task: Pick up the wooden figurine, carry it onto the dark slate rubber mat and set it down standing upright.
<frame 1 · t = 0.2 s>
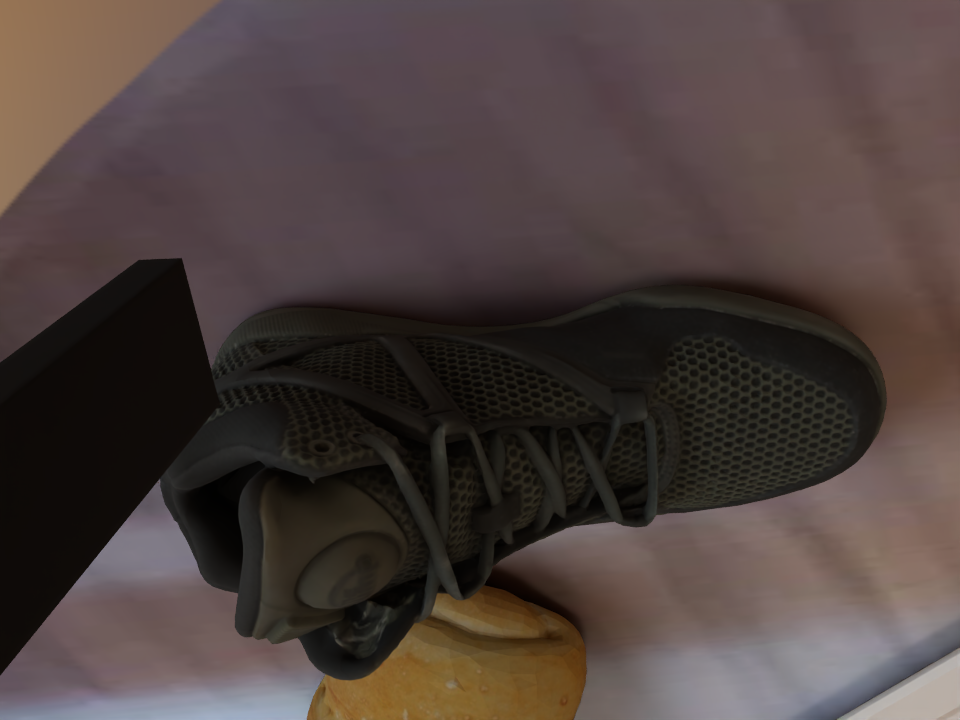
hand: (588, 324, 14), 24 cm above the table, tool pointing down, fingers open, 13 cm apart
sneaker: (529, 378, 42), on the table
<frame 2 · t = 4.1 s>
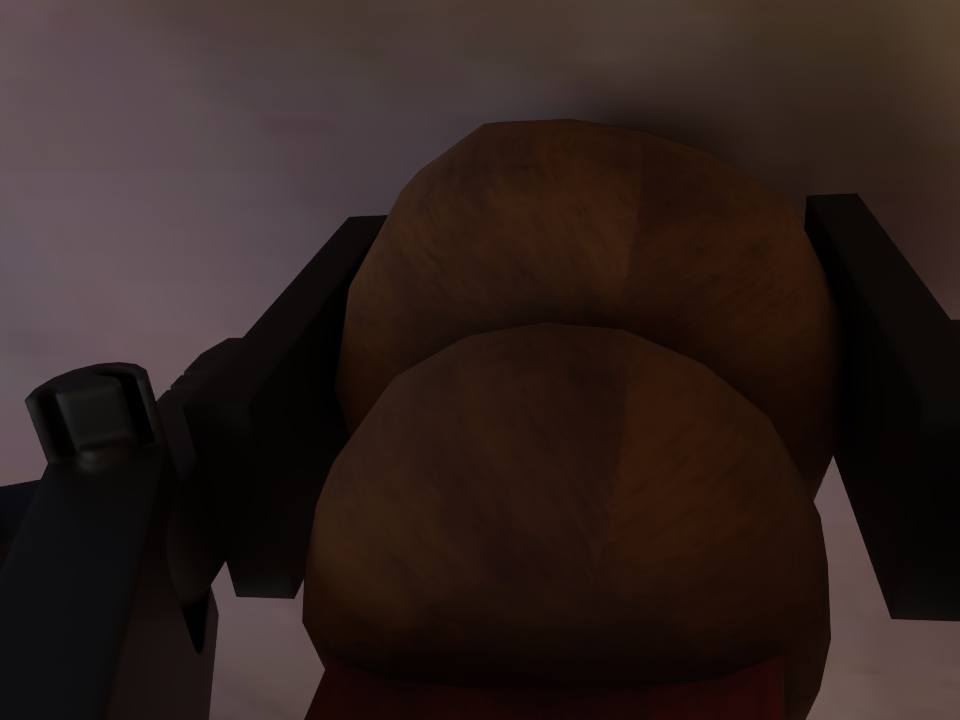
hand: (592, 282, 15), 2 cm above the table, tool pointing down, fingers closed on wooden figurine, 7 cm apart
wooden figurine: (597, 238, 17), on the table, touching gripper
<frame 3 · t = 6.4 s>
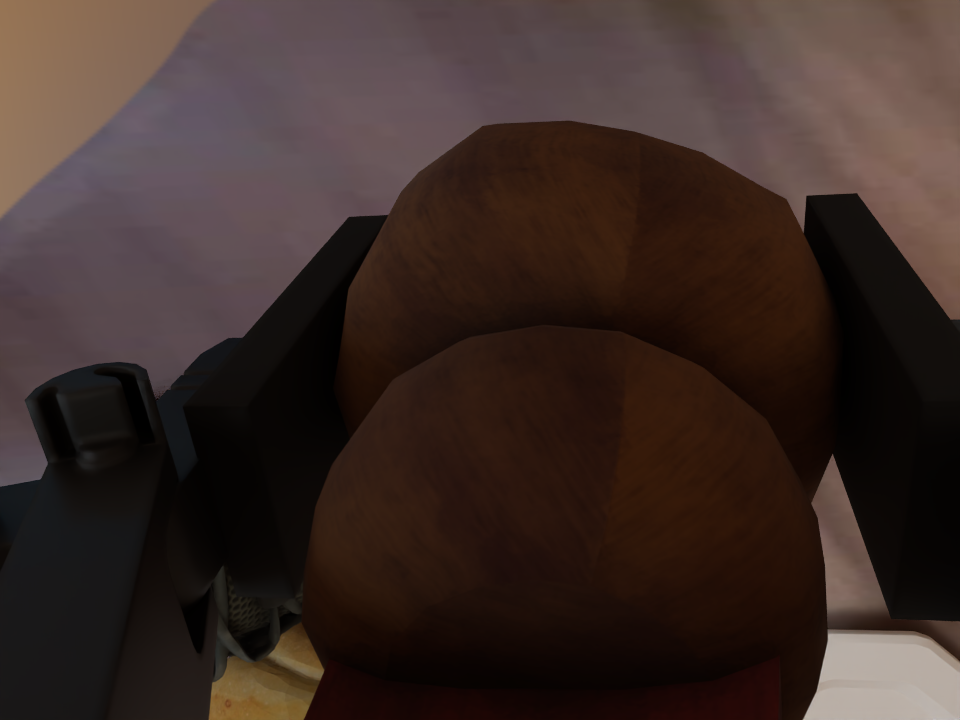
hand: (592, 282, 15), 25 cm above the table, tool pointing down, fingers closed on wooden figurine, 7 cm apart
sneaker: (349, 461, 49), on the table
wooden figurine: (596, 239, 17), point 22 cm above the table, touching gripper
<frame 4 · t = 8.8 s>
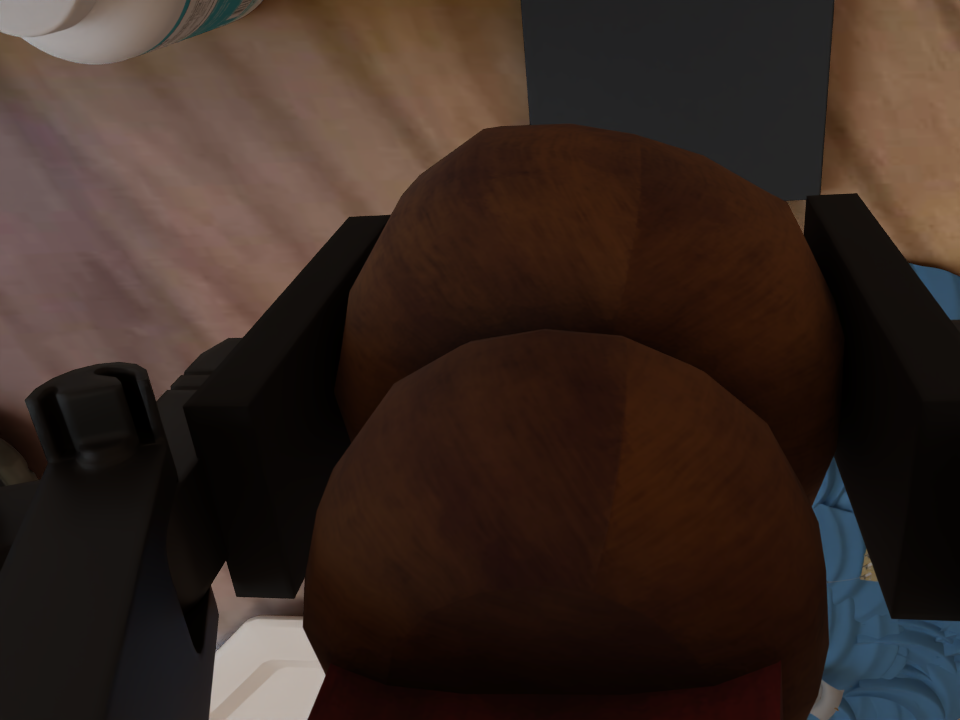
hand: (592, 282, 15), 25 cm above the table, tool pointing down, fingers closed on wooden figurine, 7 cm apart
blue ocean wave diorama: (792, 518, 46), on the table
wooden figurine: (597, 242, 17), point 23 cm above the table, touching gripper
mat: (673, 46, 36), on the table
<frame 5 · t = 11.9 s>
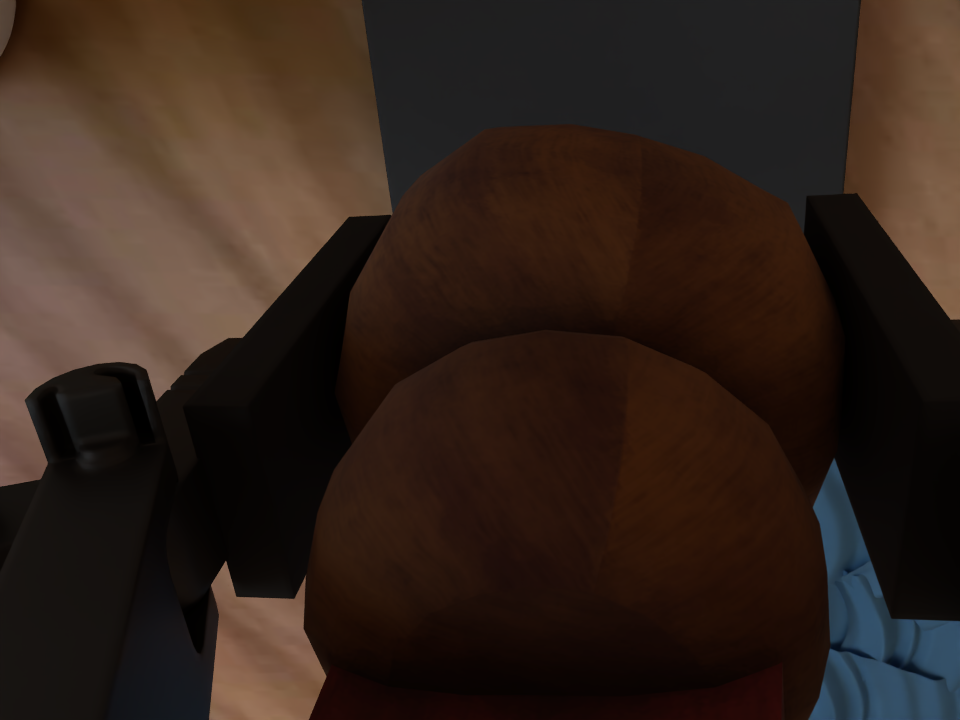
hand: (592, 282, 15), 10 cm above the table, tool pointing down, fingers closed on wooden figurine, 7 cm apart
wooden figurine: (597, 242, 17), point 8 cm above the table, touching gripper
mat: (607, 137, 24), on the table
when the fingers open (3 cm above the table, at t = 13.9 s): wooden figurine stays where it is, resting on mat.
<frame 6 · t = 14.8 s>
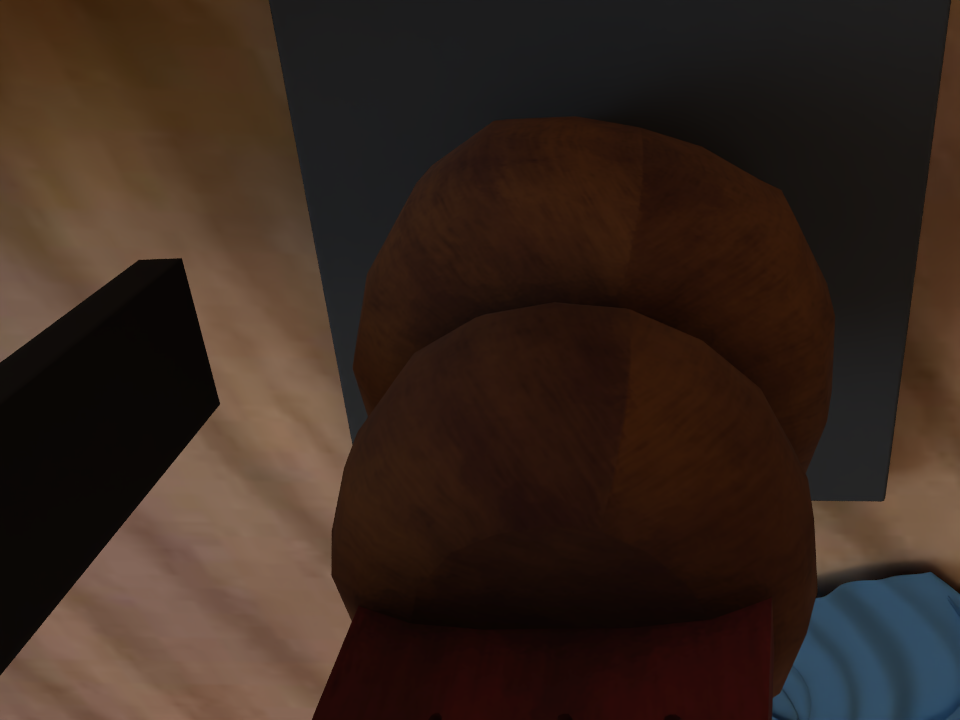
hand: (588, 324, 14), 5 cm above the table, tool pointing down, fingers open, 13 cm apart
wooden figurine: (600, 232, 18), point 1 cm above the table, touching mat
mat: (601, 215, 19), on the table
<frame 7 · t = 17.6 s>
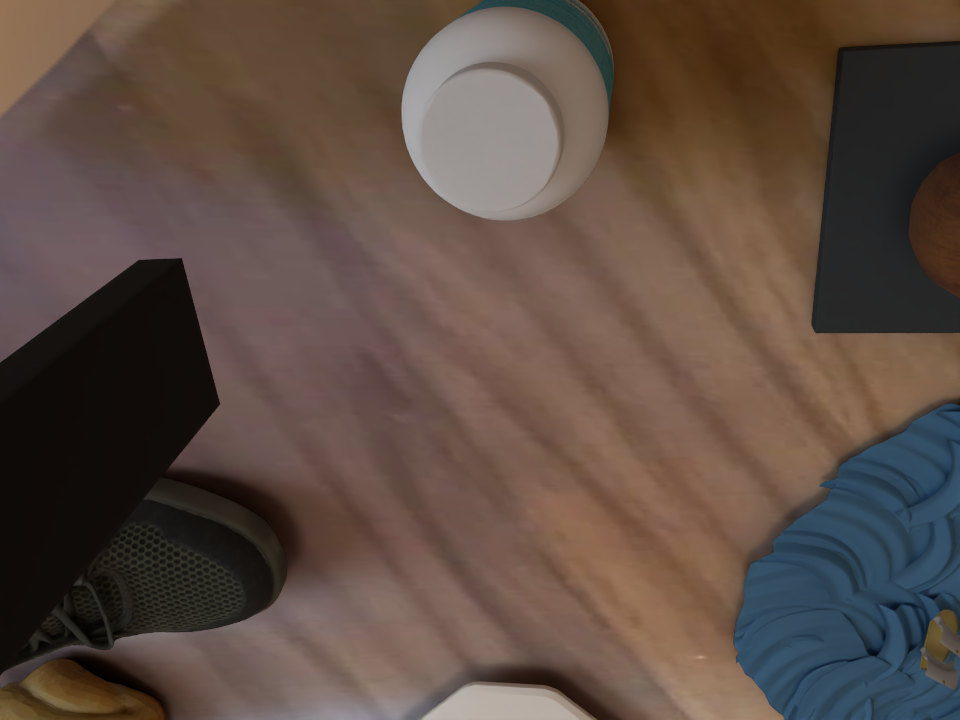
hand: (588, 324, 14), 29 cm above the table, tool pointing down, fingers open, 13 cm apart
sneaker: (89, 527, 58), on the table
pill bottle: (532, 71, 41), on the table
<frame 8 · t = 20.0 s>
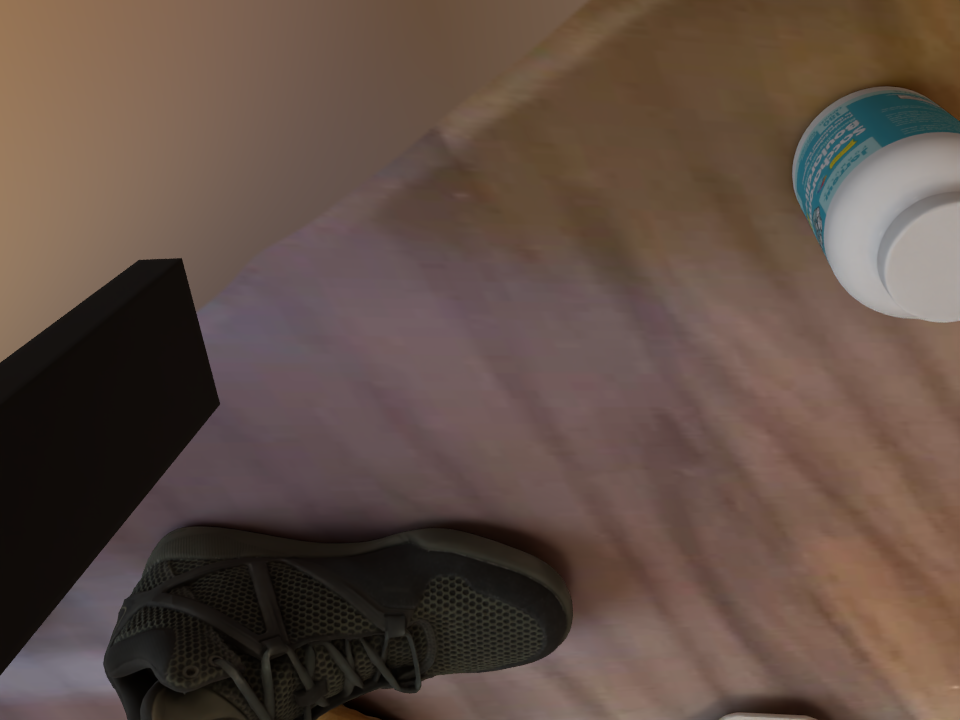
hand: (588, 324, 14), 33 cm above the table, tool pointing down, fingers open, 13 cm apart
sneaker: (362, 573, 61), on the table
pill bottle: (867, 160, 44), on the table
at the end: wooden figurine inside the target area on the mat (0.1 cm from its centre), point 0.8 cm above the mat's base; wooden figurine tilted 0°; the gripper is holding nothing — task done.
